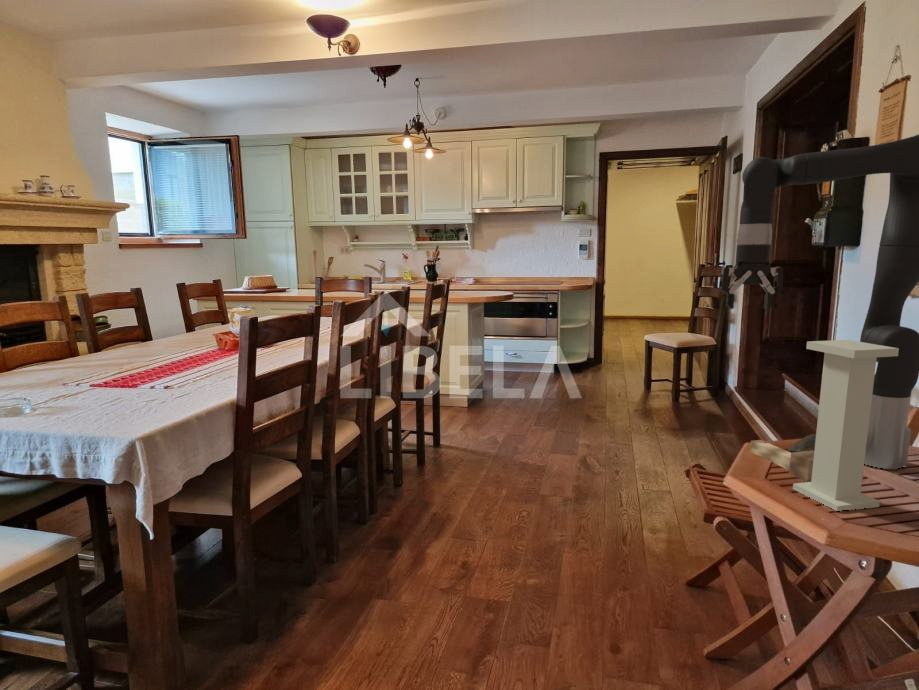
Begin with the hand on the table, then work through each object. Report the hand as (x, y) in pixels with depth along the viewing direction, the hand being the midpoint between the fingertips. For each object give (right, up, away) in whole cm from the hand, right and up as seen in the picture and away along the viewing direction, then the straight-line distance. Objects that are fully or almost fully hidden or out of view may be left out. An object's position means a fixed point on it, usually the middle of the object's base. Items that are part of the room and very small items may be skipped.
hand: (748, 308), depth 140 cm
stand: (+5, -41, -25) cm, 48 cm away
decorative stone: (+16, -37, +1) cm, 40 cm away
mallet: (+5, -38, -7) cm, 39 cm away
